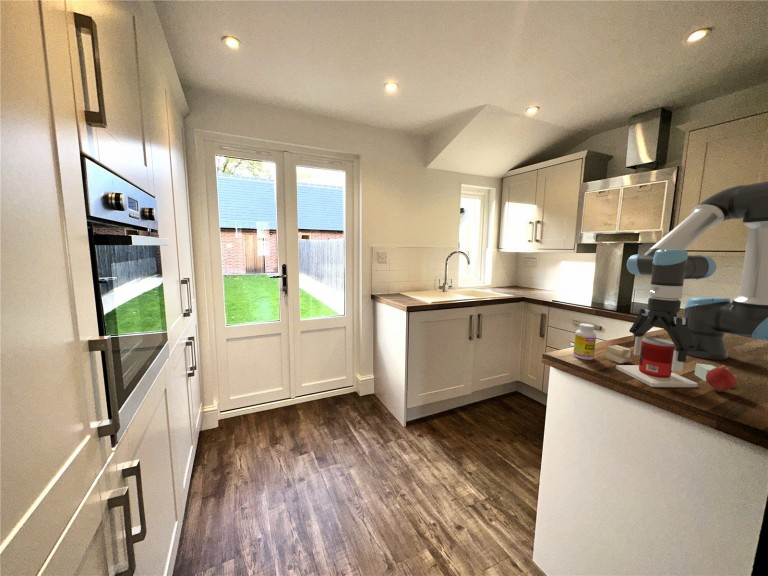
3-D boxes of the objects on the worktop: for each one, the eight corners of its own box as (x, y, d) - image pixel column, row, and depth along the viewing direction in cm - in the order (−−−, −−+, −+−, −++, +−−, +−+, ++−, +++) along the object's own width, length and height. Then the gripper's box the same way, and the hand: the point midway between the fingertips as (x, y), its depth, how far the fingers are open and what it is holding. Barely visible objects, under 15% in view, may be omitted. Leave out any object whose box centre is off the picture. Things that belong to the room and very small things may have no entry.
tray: (655, 368, 104) (655, 365, 104) (697, 387, 91) (697, 382, 90) (615, 368, 104) (616, 364, 104) (651, 386, 90) (652, 382, 90)
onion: (698, 386, 91) (702, 361, 90) (715, 386, 91) (719, 361, 90) (721, 396, 85) (726, 369, 84) (739, 395, 86) (744, 369, 84)
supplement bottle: (583, 360, 111) (586, 327, 110) (569, 354, 118) (572, 323, 116) (598, 359, 113) (601, 326, 111) (583, 353, 119) (586, 322, 117)
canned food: (677, 379, 93) (682, 345, 91) (647, 376, 94) (652, 343, 93) (660, 369, 100) (664, 338, 99) (633, 367, 102) (636, 336, 100)
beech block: (615, 357, 115) (617, 345, 115) (629, 362, 111) (630, 349, 110) (605, 358, 114) (607, 346, 113) (619, 363, 109) (620, 350, 109)
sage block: (710, 376, 99) (712, 365, 98) (722, 384, 93) (724, 372, 93) (694, 374, 100) (696, 363, 100) (705, 381, 95) (707, 369, 94)
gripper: (621, 292, 106) (614, 349, 109) (694, 305, 82) (683, 379, 84) (641, 292, 106) (634, 349, 109) (721, 305, 82) (709, 379, 84)
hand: (656, 362), depth 97 cm, fingers open, 13 cm apart
